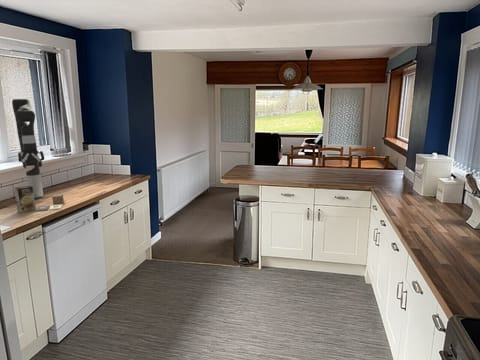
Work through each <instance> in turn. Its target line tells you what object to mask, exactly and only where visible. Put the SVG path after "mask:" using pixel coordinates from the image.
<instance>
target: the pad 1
mask: <svg viewBox="0 0 480 360" xmlns="http://www.w3.org/2000/svg"><path fill="white" fill-rule="evenodd" d="M50 207H51V204H50V205H42V206H38V207H36V210H34V211H35V213H37V212H45V211H49V208H50Z"/></svg>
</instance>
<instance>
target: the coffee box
mask: <svg viewBox="0 0 480 360" xmlns="http://www.w3.org/2000/svg"><path fill="white" fill-rule="evenodd" d="M14 194H15V202H16V210H17V212H18V213H20V214H23V213H28V212H32V211H35V210H36V209H37V207H36V201H35V198H34V193H33V187H32V186H28V185H24V186H17V187H14Z"/></svg>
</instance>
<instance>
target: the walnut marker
mask: <svg viewBox="0 0 480 360" xmlns="http://www.w3.org/2000/svg"><path fill="white" fill-rule="evenodd" d="M51 197H52V205H59V204H64V201H65V200H64V194H63V193H59V194H57V193H56V194H53V195H52V196H51Z"/></svg>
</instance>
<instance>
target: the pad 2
mask: <svg viewBox="0 0 480 360" xmlns="http://www.w3.org/2000/svg"><path fill="white" fill-rule="evenodd" d="M63 204H64V203H63ZM63 204H57V205H53V204H52V205H51V204H50V207H49V209H48V211H53V210H54V211H55V210H56V211H57V210H62V208H63V206H64V205H63Z"/></svg>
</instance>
